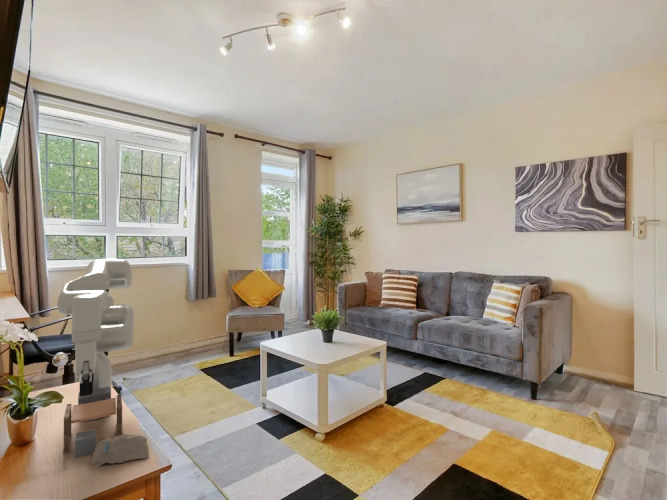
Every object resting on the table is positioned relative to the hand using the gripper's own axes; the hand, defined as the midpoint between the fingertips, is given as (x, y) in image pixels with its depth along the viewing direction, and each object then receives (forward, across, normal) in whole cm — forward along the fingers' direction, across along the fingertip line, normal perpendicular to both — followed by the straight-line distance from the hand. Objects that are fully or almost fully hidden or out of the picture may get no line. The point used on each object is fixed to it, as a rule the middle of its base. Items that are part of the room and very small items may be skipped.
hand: (86, 388), depth 111 cm
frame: (+17, -1, +2) cm, 17 cm away
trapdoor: (+9, -5, +2) cm, 10 cm away
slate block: (+14, +4, 0) cm, 15 cm away
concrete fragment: (+17, +16, +9) cm, 25 cm away
